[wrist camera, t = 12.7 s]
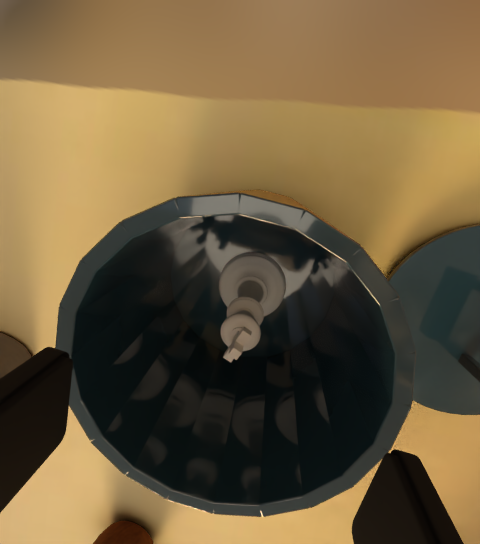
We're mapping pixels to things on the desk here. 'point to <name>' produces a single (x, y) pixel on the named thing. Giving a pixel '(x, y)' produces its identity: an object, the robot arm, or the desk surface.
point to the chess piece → (248, 299)
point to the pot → (248, 367)
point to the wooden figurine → (124, 534)
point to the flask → (11, 354)
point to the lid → (444, 319)
